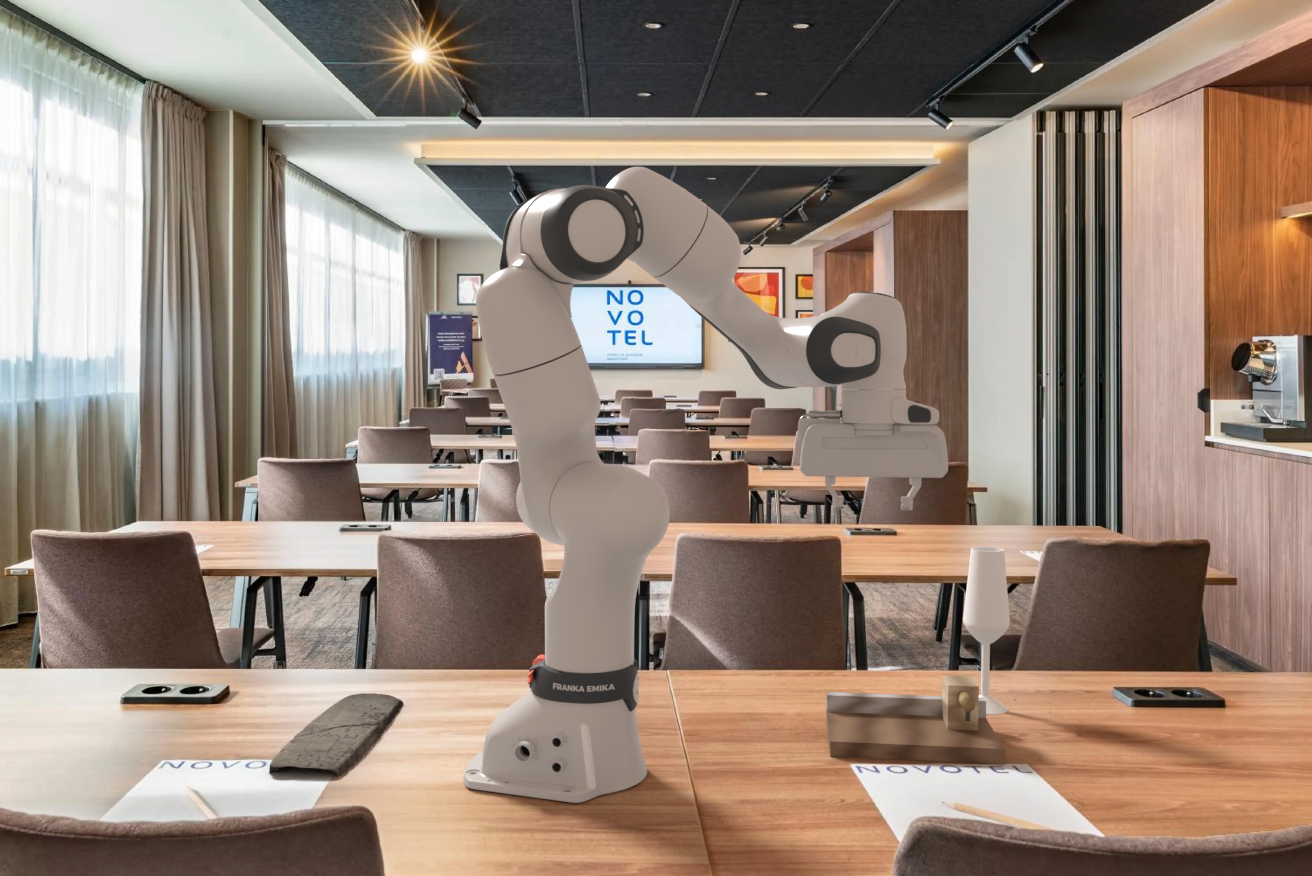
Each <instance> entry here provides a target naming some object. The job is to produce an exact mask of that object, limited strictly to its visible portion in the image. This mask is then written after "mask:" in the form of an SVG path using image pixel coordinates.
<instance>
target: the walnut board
mask: <svg viewBox="0 0 1312 876" xmlns="http://www.w3.org/2000/svg"><path fill="white" fill-rule="evenodd" d="M825 695H826V699H825V703H826V704H825V708H826V709H825V710H826V711H825V724H826V725H825V726H826V731H827V741H828V750H829V757H833V758H834V757H835V758H855V759H857V758H858V759H877V760H878V759H881V760H883V759H884V760H902V761H922V762H923V761H925V762H945V763H947V762H948V763H949V762H950V763H965V764H967V763H970V764H992V765H1005V748H1004V746H1003V744H1002V742H1001V741H1000V739H999V737H998V736H997V734H996V732H995V731H994V729H993V727H992V726H991V724H990V722H989V720H988V718H987V714H986V700H985V698H979V705H978V730H955V729H947V727H946V725H945V723H944V721H943V718H942V695H924V694H923V695H921V694H918V695H917V694H894V693H893V694H891V693H871V692H870V693H865V692H864V693H863V692H840V691H839V692H837V691H836V692H835V691H826V694H825Z"/></svg>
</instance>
